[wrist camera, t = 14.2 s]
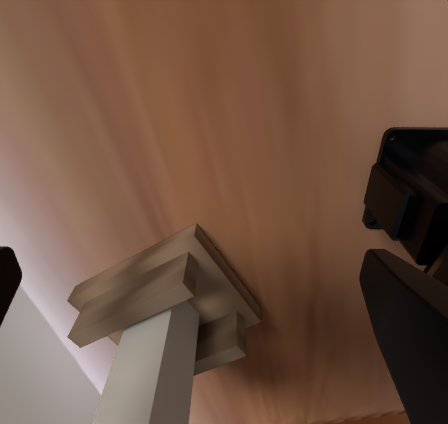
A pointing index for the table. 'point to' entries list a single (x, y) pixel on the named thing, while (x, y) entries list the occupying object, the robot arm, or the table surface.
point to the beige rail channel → (170, 297)
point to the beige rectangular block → (152, 370)
